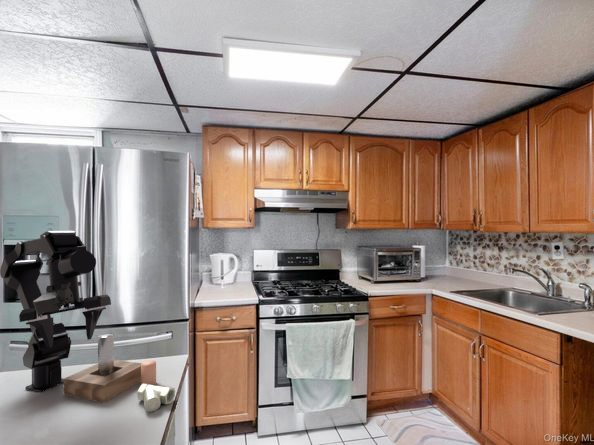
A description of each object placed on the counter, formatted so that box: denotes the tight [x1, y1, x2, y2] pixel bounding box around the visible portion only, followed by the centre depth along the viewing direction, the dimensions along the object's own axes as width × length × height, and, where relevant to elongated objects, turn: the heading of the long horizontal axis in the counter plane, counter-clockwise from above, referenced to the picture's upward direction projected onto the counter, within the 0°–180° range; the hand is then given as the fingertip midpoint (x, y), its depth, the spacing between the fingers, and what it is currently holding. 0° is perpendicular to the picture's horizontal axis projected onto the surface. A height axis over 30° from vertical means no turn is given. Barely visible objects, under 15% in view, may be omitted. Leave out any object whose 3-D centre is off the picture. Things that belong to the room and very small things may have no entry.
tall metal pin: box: [97, 333, 115, 377], centre depth 86 cm, size 4×4×13 cm
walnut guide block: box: [63, 359, 143, 403], centre depth 86 cm, size 13×13×4 cm
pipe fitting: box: [136, 384, 176, 413], centre depth 76 cm, size 8×4×7 cm
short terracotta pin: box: [140, 360, 157, 386], centre depth 86 cm, size 4×4×6 cm
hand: (69, 343), depth 80 cm, fingers open, 9 cm apart
